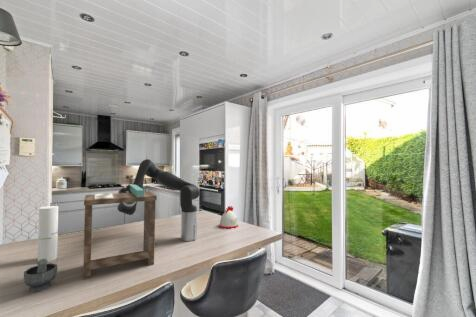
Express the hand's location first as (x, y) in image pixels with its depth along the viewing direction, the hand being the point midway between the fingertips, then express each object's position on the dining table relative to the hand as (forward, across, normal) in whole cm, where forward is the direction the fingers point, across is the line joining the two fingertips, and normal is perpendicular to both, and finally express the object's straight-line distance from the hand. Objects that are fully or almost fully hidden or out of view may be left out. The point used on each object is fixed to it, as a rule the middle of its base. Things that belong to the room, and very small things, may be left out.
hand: (134, 186), depth 119 cm
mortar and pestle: (-1, -34, +40) cm, 52 cm away
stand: (-7, -7, +36) cm, 38 cm away
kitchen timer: (-33, +68, +21) cm, 79 cm away
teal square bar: (+5, 0, +6) cm, 8 cm away
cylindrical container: (-28, -36, +25) cm, 52 cm away
